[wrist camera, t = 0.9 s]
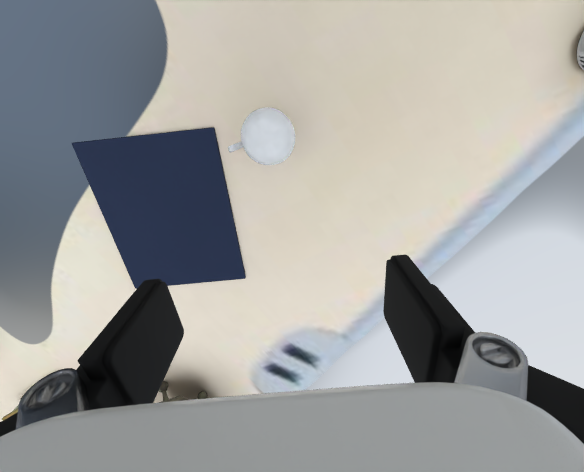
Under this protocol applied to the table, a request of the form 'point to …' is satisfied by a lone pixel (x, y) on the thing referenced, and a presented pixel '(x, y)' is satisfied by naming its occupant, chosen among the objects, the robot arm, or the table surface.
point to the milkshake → (267, 136)
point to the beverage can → (581, 52)
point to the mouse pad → (166, 205)
